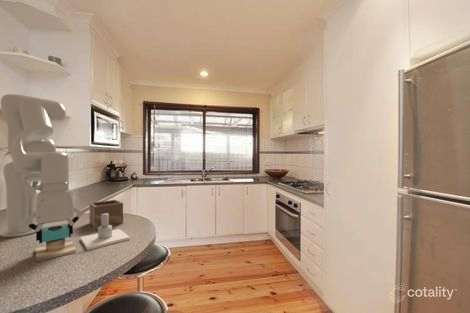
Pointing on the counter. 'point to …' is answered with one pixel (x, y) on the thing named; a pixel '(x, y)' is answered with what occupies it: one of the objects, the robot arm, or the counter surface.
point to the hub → (104, 235)
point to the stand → (54, 248)
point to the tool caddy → (110, 207)
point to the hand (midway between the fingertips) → (55, 238)
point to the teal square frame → (55, 233)
